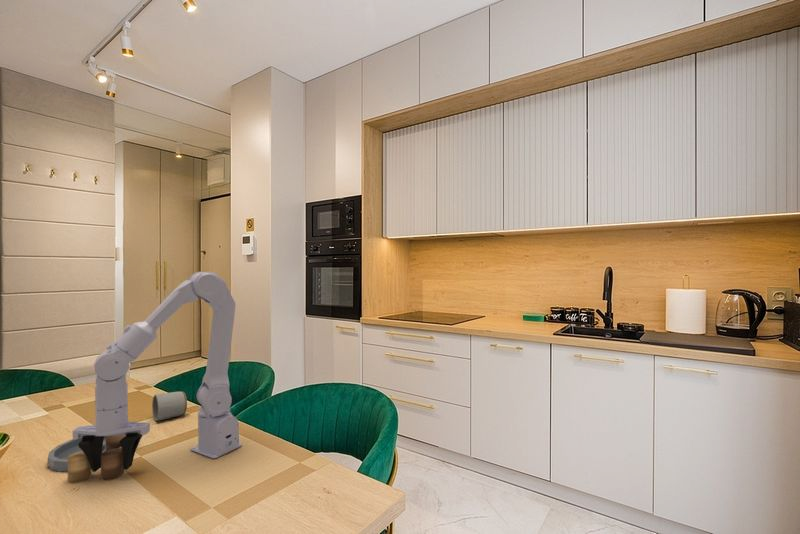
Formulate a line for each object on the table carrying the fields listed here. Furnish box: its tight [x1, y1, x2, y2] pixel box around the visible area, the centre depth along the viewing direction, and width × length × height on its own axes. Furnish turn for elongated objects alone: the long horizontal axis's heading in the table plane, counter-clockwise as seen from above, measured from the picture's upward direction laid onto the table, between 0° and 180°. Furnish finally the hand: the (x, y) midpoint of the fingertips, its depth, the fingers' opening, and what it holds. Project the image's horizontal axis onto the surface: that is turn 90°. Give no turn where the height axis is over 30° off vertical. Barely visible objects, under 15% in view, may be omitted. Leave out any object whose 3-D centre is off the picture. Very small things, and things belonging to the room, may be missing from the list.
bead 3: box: [100, 448, 125, 481], centre depth 86 cm, size 4×4×5 cm
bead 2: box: [106, 435, 126, 451], centre depth 96 cm, size 4×4×5 cm
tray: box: [47, 436, 122, 473], centre depth 96 cm, size 17×17×2 cm
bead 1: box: [67, 451, 93, 484], centre depth 85 cm, size 4×4×5 cm
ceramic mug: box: [151, 391, 188, 422], centre depth 120 cm, size 11×8×8 cm
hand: (112, 468), depth 86 cm, fingers open, 6 cm apart
